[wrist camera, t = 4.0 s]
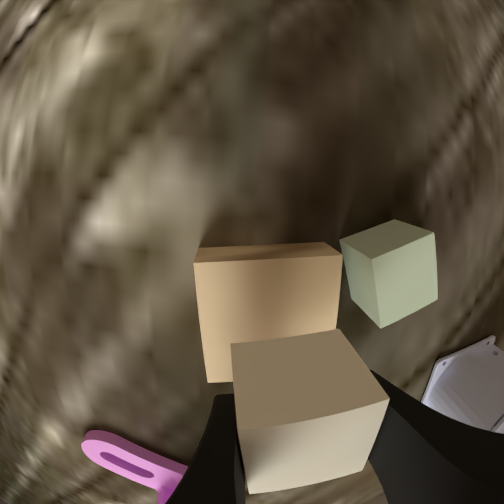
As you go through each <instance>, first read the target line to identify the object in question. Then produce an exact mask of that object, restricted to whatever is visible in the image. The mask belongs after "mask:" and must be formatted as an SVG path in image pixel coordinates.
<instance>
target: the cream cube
mask: <svg viewBox="0 0 504 504" xmlns="http://www.w3.org/2000/svg"><path fill="white" fill-rule="evenodd" d="M230 347H231V360H232V373H233V385H234V397H235V408H236V419H237V430H238V436H239V442H240V447H241V453H242V458H243V464H244V469H245V474H246V479H247V485H248V490H249V494H254V493H263V492H271V491H278V490H284V489H290V488H296V487H301V486H306V485H310V484H315V483H319V482H323V481H327V480H331V479H335V478H339V477H342V476H346V475H349V474H352V473H356V472H359V471H362V470H363V467H364V465H365V463H366V461H367V458H368V456H369V454H370V451H371V449H372V447H373V444H374V442H375V439H376V437H377V434H378V431H379V429H380V426H381V423H382V421H383V418H384V415H385V412H386V409H387V406H388V403H389V400H390V398H389V397H388V395H387V394H386V392H385V391H384V390H383V388H382V387H381V385H380V384H379V383H378V381H377V380H376V378H375V377H374V376H373V374H372V373H371V372H370V370H369V369H368V367H367V366H366V365H365V363H364V362H363V360H362V359H361V358H360V356H359V355H358V354H357V352H356V351H355V350H354V348H353V347H352V345H351V344H350V343H349V341H348V340H347V339H346V337H345V336H344V335H343V333H342V332H341V331H340V329H335V330H329V331H323V332H317V333H311V334H305V335H298V336H291V337H283V338H276V339H268V340H259V341H250V342H240V343H230Z"/></svg>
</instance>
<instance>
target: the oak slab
mask: <svg viewBox="0 0 504 504" xmlns="http://www.w3.org/2000/svg"><path fill="white" fill-rule="evenodd" d="M342 259H343V255H342V254H341V253H339V252H338V251H336V250H335V249H334V248H332V247H331V246H329V245H328V244H326V243H325V242H314V243H292V244H270V245H249V246H228V247H208V248H198V251H197V254H196V257H195V260H194V272H195V283H196V293H197V303H198V312H199V321H200V329H201V337H202V345H203V352H204V360H205V367H206V374H207V380H208V383H211V382H233V373H232V360H231V347H230V343H240V342H250V341H259V340H268V339H276V338H283V337H291V336H298V335H305V334H311V333H317V332H323V331H329V330H335V329H336V322H337V314H338V305H339V295H340V284H341V273H342Z"/></svg>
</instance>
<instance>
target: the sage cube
mask: <svg viewBox="0 0 504 504" xmlns="http://www.w3.org/2000/svg"><path fill="white" fill-rule="evenodd" d="M339 241H340V246H341V250H342V255H343V259H344V264H345V268H346V273H347V278H348V283H349V288H350V293H351V299H352V300H353V301H354V302H355V303H356V304H357V305H358V306H359V307H360V308H361V309H362V310H363V311H364V312H365V313H366V314H367V315H368V316H369V317H370V318H371V319H372V320H373V321H374V322H375V323H376V324H377V325H378V326H379V327H380V329H381V328H383V327H385V326H387V325H389V324H392V323H394V322H396V321H398V320H400V319H402V318H404V317H406V316H407V315H409V314H411V313H413V312H415V311H417V310H419V309H421V308H423V307H424V306H426V305H428V304H430V303H432V302H434V301H435V300H437V299H438V288H437V263H436V249H435V238H434V232H431V231H428V230H425V229H422V228H419V227H416V226H413V225H410V224H407V223H404V222H401V221H398V220H395V219H394V220H391V221H389V222H386V223H383V224H381V225H378V226H375V227H372V228H370V229H367V230H364V231H362V232H359V233H356V234H353V235H351V236H348V237H345V238H343V239H340V240H339Z"/></svg>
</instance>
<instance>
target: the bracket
mask: <svg viewBox="0 0 504 504" xmlns="http://www.w3.org/2000/svg"><path fill="white" fill-rule="evenodd" d="M82 450H83V452H84V453H85V454H86V455H87V456H88V457H89V458H90V459H91V460H92V461H94V462H95V463H97V464H99V465H101V466H103V467H105V468H107V469H109V470H111V471H113V472H115V473H117V474H119V475H121V476H124V477H126V478H128V479H131V480H133V481H135V482H138V483H140V484H143V485H145V486H148V487H151V488H153V489H155V490H156V491H157V492H158V500H157V504H165V503H166V501H167V500H168V499H169V497H170V496H171V495H172V493H173V492H174V490H175V488H176V487H177V485H178V484H179V482H180V481H181V479H182V477H183V475H184V474H185V472H186V470H187V468H188V466H186V465H183V464H180V463H178V462H175V461H173V460H170V459H168V458H165V457H163V456H160V455H158V454H156V453H153V452H151V451H149V450H147V449H145V448H142V447H140V446H138V445H136V444H134V443H132V442H130V441H128V440H126V439H124V438H122V437H120V436H118V435H116V434H113V433H110V432H107V431H102V430H91V431H88V432H87V433H86V435H85V437H84V440H83V442H82Z"/></svg>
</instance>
